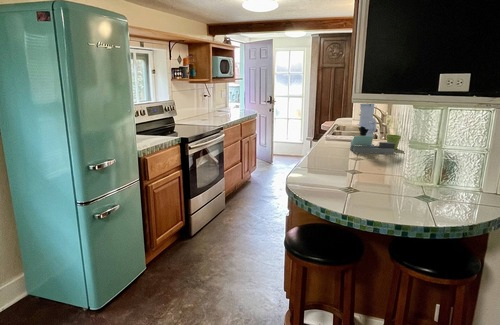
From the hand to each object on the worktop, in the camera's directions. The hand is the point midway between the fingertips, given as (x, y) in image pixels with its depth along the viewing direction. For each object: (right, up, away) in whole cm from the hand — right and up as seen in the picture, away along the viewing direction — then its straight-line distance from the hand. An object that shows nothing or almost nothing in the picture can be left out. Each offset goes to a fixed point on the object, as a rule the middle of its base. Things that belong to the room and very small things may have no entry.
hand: (362, 139), depth 212 cm
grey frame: (+6, -8, +2) cm, 10 cm away
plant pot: (+23, -6, +11) cm, 26 cm away
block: (+15, -8, +1) cm, 17 cm away
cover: (0, -1, 0) cm, 1 cm away
